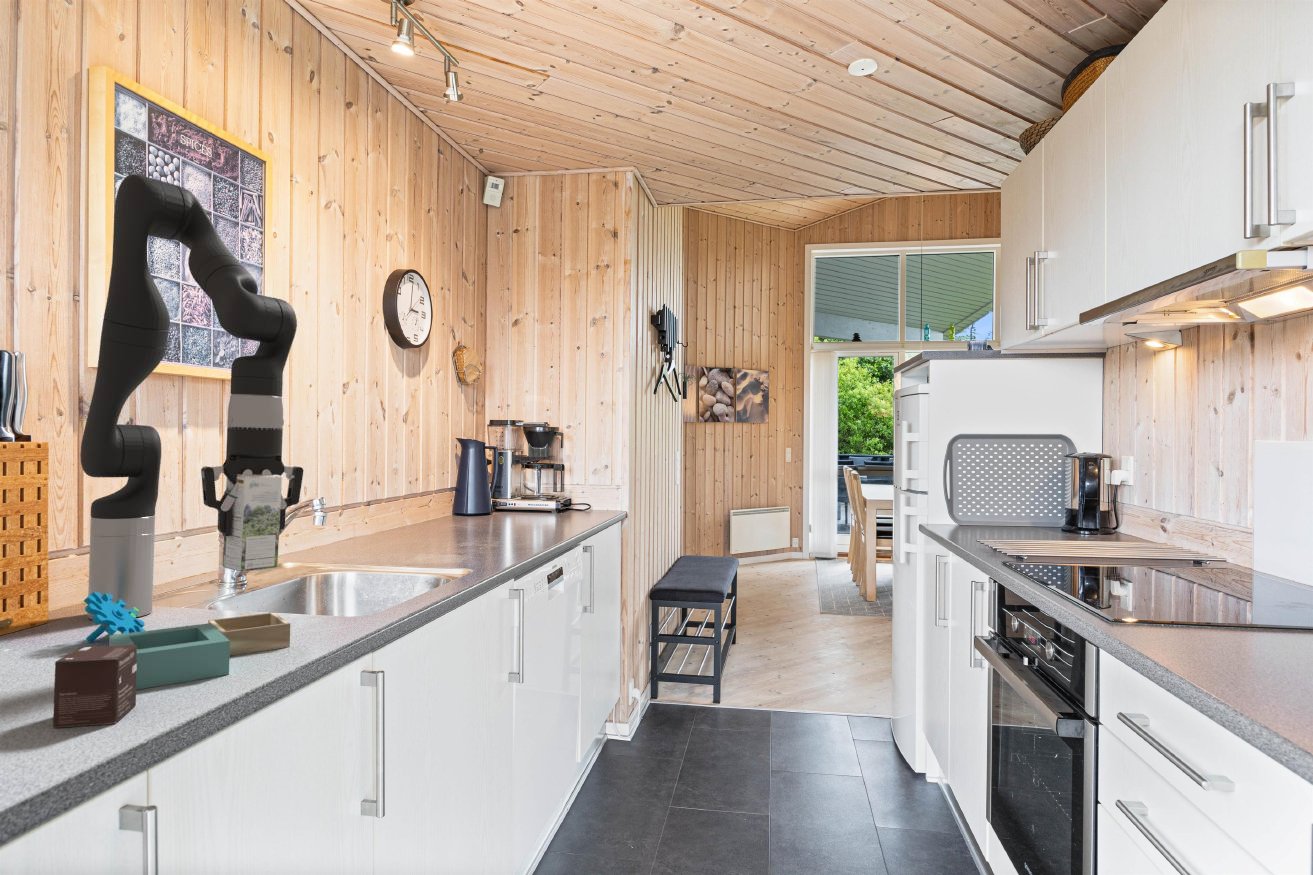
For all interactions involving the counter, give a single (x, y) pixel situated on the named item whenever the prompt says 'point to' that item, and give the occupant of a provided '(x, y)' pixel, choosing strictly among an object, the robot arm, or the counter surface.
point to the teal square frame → (177, 654)
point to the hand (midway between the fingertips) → (251, 533)
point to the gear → (111, 616)
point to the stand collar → (254, 632)
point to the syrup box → (254, 523)
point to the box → (95, 686)
